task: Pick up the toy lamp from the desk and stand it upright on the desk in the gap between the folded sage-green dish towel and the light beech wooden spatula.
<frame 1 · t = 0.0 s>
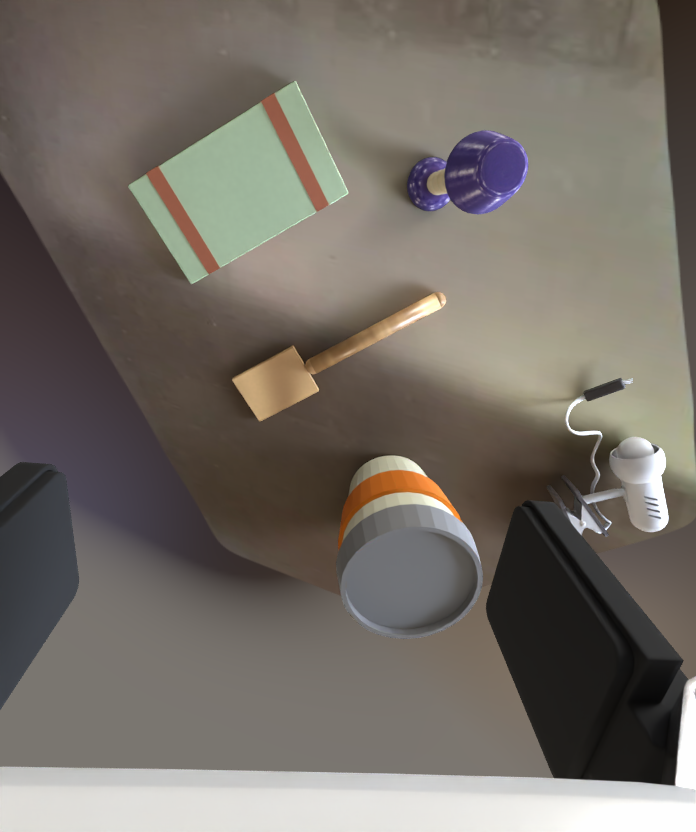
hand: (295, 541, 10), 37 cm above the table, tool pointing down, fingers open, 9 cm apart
clip-on lamp: (591, 453, 53), on the table
wooden spatula: (341, 348, 47), on the table
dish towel: (242, 190, 41), on the table
reusable coffee cup: (388, 489, 53), on the table
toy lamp: (433, 186, 41), on the table
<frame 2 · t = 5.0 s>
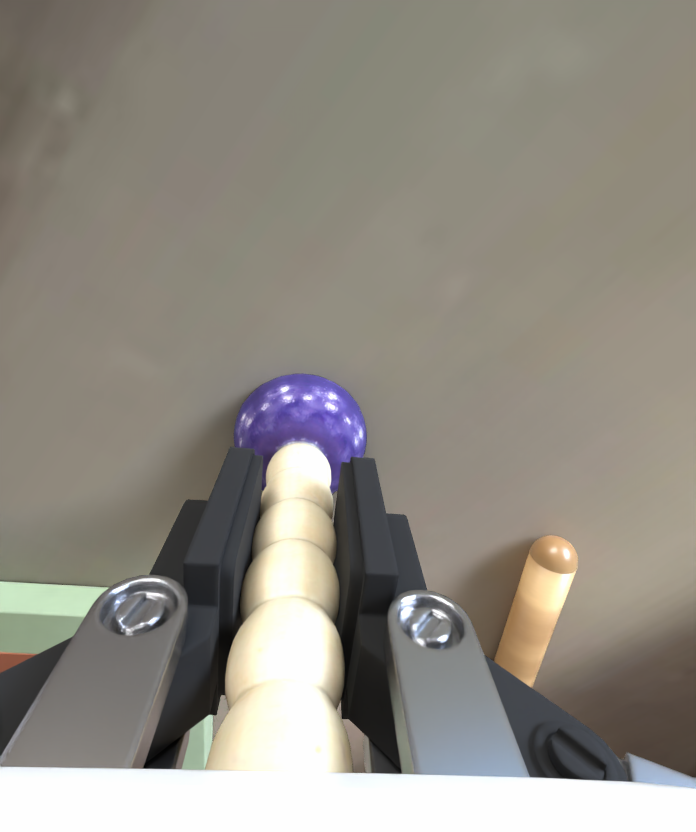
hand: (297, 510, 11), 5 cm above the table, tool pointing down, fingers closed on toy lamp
wooden spatula: (482, 727, 21), on the table
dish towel: (106, 730, 20), on the table
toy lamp: (310, 427, 15), on the table, touching gripper
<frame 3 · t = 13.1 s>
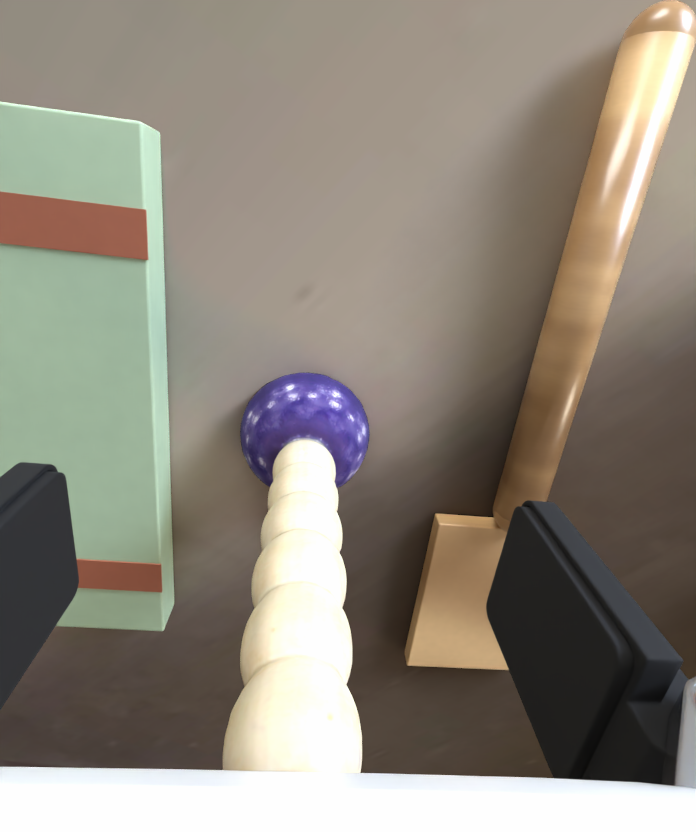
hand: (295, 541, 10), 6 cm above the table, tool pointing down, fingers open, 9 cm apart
wooden spatula: (531, 418, 16), on the table
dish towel: (23, 401, 15), on the table
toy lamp: (314, 425, 16), on the table
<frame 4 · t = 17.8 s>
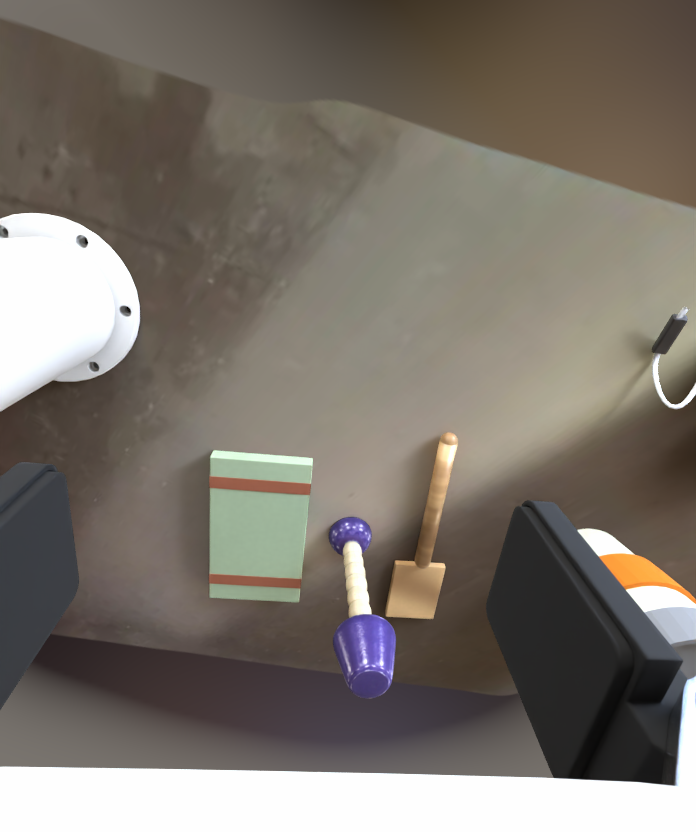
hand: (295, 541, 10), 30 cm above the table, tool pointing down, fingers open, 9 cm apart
wooden spatula: (426, 529, 47), on the table
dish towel: (259, 526, 46), on the table
reusable coffee cup: (577, 562, 50), on the table
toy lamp: (353, 531, 47), on the table
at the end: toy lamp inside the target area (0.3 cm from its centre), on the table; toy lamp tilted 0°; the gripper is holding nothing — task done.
